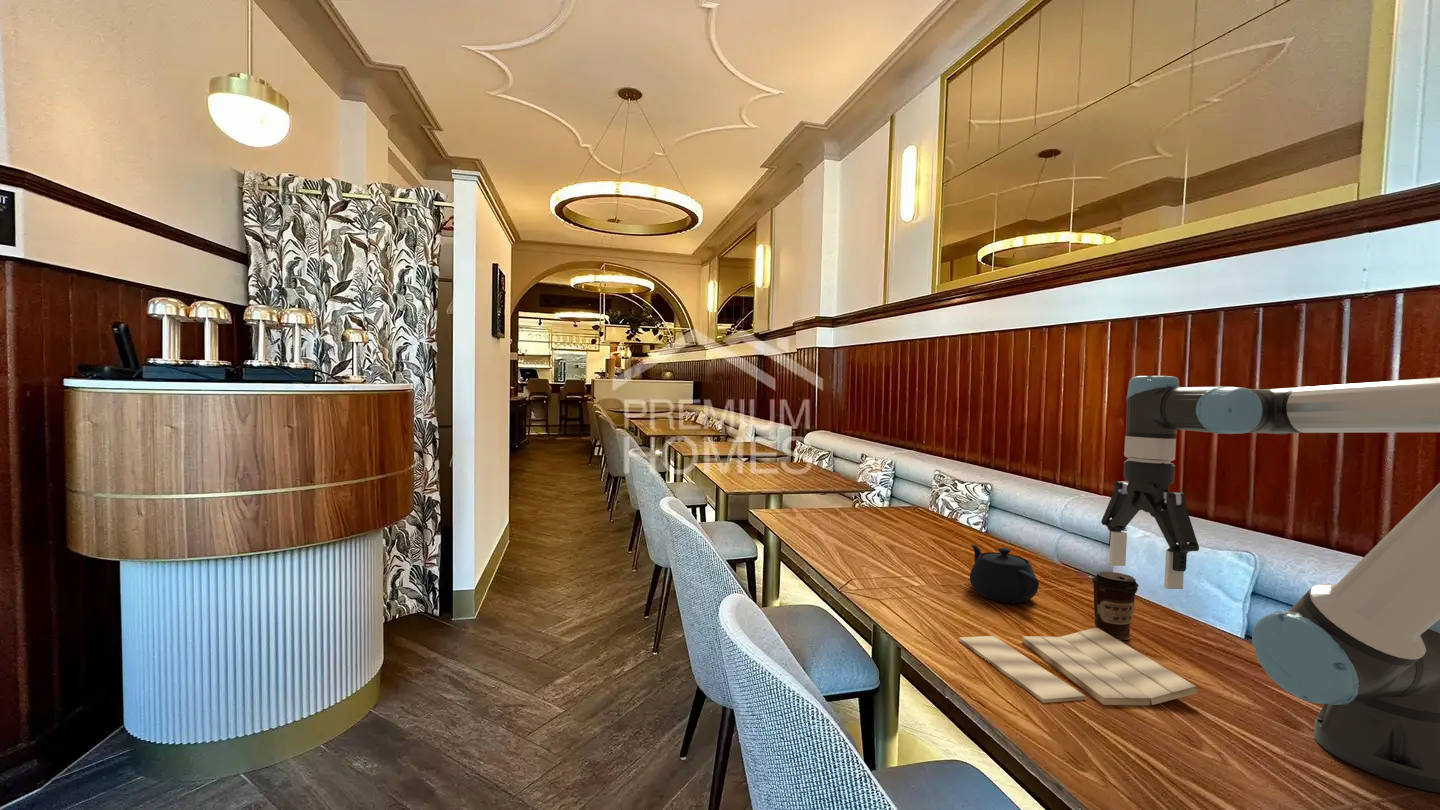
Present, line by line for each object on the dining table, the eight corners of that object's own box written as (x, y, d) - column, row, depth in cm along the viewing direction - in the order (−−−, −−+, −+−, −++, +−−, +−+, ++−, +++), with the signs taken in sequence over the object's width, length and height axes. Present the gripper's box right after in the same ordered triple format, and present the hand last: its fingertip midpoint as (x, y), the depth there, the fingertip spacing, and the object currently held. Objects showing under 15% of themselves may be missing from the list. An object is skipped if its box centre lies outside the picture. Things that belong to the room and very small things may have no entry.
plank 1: (1085, 703, 99) (1085, 696, 99) (1043, 706, 97) (1044, 699, 97) (993, 641, 122) (993, 635, 122) (958, 643, 121) (958, 637, 121)
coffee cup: (1144, 646, 121) (1148, 584, 120) (1100, 641, 123) (1103, 580, 122) (1124, 629, 129) (1127, 571, 129) (1083, 625, 131) (1086, 567, 131)
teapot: (1064, 612, 139) (1066, 561, 138) (1006, 615, 136) (1008, 563, 135) (995, 578, 163) (997, 534, 163) (944, 579, 160) (946, 535, 160)
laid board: (1149, 705, 97) (1150, 697, 97) (1103, 704, 97) (1103, 697, 97) (1059, 642, 121) (1059, 636, 121) (1022, 641, 121) (1022, 635, 121)
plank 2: (1197, 693, 98) (1195, 685, 98) (1152, 705, 97) (1150, 697, 97) (1097, 632, 122) (1096, 626, 122) (1061, 642, 121) (1060, 636, 121)
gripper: (1231, 470, 95) (1224, 600, 95) (1119, 453, 119) (1115, 557, 120) (1186, 468, 94) (1179, 599, 95) (1084, 452, 119) (1079, 556, 120)
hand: (1143, 576), depth 107 cm, fingers open, 13 cm apart
